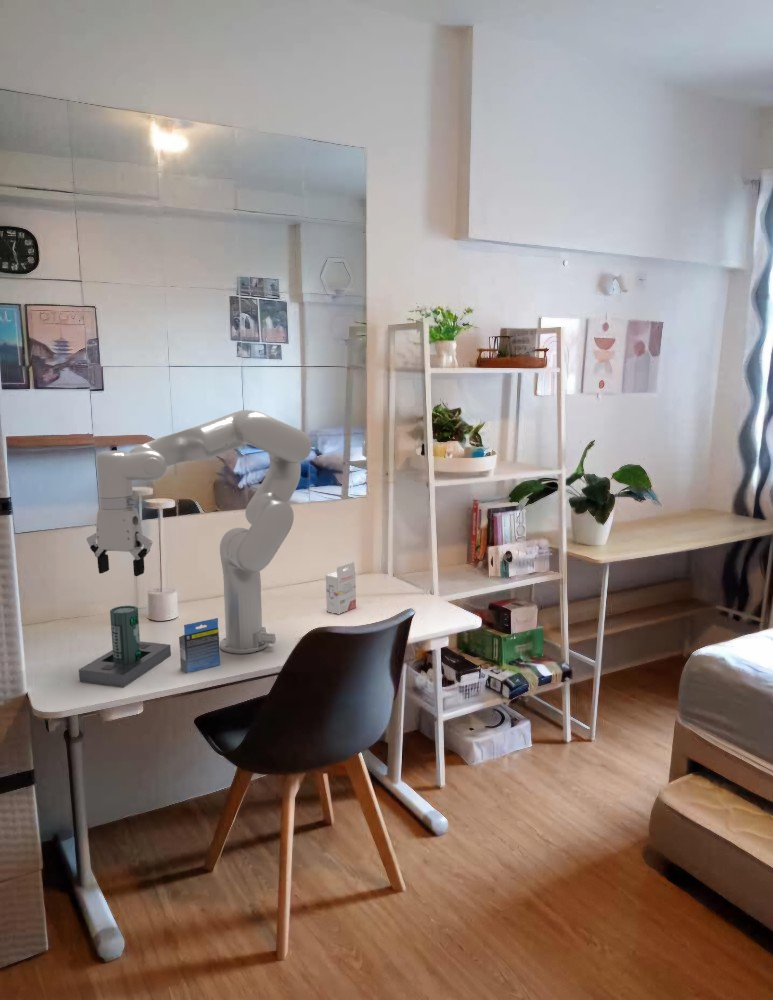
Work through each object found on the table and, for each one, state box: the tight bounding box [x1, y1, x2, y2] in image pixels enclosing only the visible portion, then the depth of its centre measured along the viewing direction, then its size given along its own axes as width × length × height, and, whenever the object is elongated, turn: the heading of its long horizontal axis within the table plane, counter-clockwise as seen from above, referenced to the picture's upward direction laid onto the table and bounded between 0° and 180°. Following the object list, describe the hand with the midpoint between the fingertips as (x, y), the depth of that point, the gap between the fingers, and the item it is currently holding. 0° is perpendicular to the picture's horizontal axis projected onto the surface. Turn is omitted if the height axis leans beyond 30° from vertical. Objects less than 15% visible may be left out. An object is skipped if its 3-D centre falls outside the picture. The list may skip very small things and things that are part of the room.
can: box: [109, 605, 141, 665], centre depth 184 cm, size 6×6×15 cm
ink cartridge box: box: [325, 561, 357, 615], centre depth 228 cm, size 9×5×15 cm, turn 143°
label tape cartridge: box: [178, 617, 221, 674], centre depth 185 cm, size 9×4×12 cm, turn 127°
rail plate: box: [78, 640, 172, 688], centre depth 185 cm, size 12×20×3 cm, turn 164°
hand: (121, 573), depth 181 cm, fingers open, 9 cm apart
